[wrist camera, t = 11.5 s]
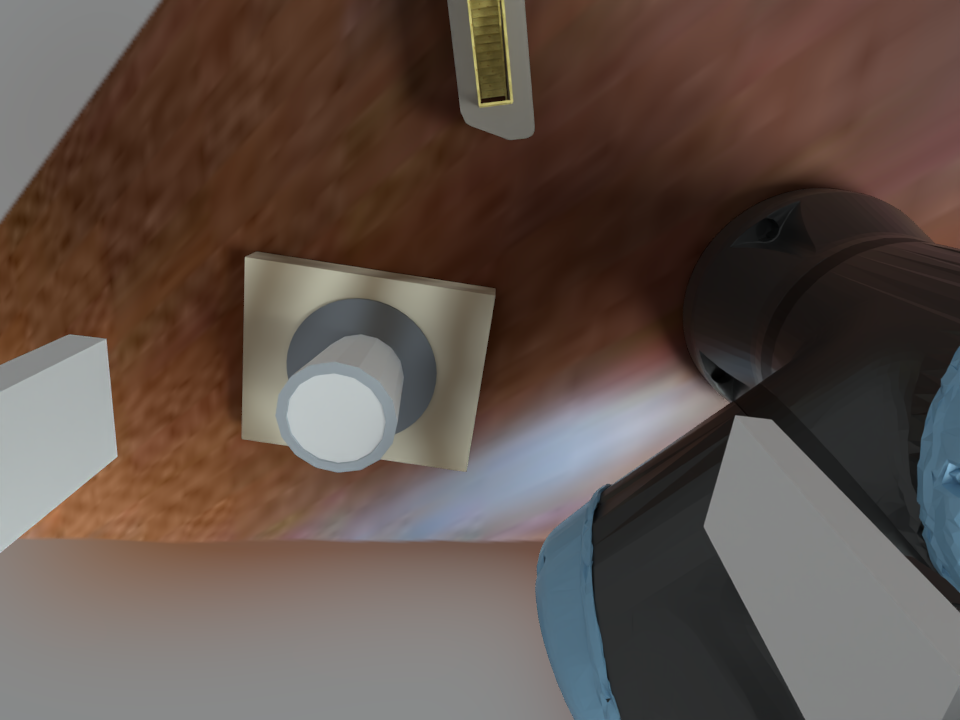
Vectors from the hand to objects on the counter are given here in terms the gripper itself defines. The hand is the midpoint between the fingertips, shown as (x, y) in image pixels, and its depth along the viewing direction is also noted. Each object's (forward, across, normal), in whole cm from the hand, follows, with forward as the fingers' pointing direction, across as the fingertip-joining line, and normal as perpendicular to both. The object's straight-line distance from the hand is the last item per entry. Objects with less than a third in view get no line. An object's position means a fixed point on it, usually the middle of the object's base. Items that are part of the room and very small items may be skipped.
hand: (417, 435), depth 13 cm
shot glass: (+26, +6, +10) cm, 29 cm away
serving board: (+28, +6, +9) cm, 31 cm away
